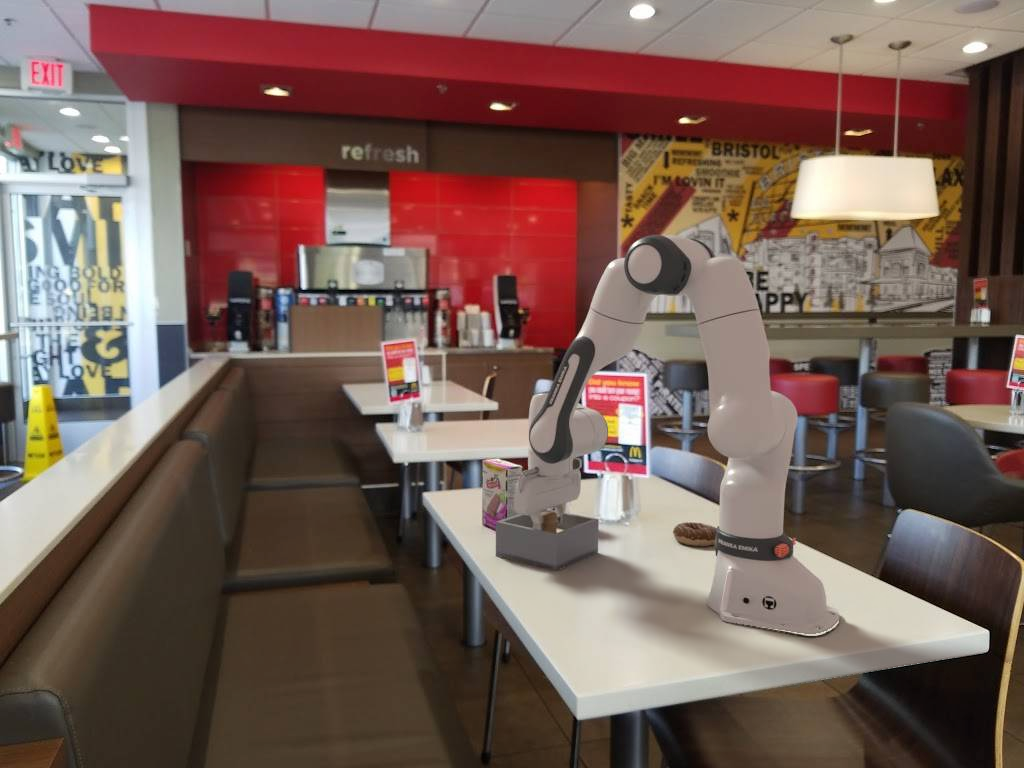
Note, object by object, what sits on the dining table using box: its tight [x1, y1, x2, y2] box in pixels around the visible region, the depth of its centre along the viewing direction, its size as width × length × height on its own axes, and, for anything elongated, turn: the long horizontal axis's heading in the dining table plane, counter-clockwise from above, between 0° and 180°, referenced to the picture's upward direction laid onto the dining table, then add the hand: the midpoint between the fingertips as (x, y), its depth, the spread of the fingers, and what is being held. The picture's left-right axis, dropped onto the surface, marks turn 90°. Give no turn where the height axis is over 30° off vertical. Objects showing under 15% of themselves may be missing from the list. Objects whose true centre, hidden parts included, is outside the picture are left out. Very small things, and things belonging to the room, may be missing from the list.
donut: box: [672, 521, 717, 547], centre depth 185 cm, size 11×11×4 cm
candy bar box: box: [481, 458, 524, 531], centre depth 193 cm, size 11×5×16 cm, turn 34°
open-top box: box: [495, 509, 600, 572], centre depth 174 cm, size 16×16×8 cm
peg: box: [540, 511, 557, 533], centre depth 174 cm, size 4×4×8 cm
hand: (547, 526), depth 174 cm, fingers open, 5 cm apart
